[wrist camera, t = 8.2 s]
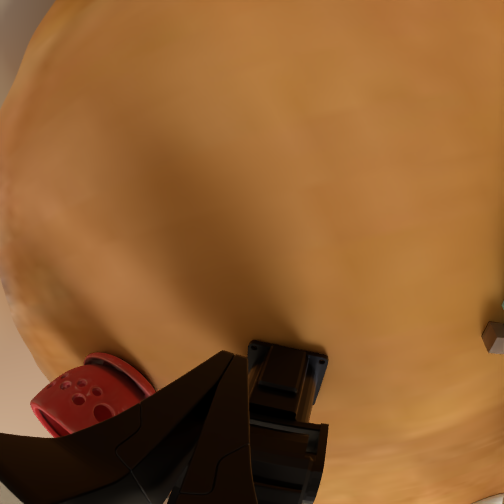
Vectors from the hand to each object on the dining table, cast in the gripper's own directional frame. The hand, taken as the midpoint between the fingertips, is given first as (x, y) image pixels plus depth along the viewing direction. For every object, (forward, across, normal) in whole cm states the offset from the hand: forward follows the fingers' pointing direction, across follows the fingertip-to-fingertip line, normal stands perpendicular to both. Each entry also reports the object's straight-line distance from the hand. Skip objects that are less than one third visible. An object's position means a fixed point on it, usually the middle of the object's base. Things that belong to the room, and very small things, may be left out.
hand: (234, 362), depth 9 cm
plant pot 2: (+12, +17, +24) cm, 32 cm away
